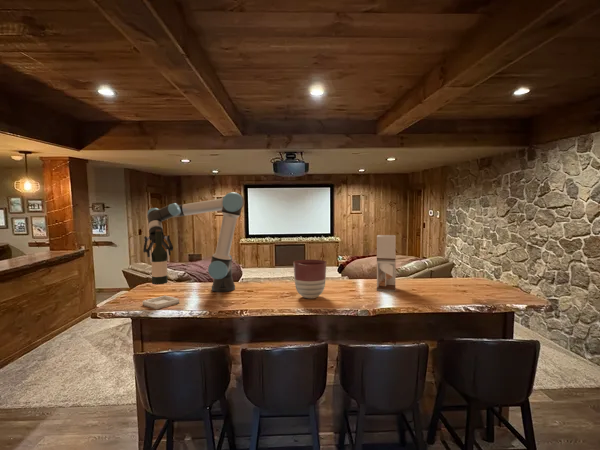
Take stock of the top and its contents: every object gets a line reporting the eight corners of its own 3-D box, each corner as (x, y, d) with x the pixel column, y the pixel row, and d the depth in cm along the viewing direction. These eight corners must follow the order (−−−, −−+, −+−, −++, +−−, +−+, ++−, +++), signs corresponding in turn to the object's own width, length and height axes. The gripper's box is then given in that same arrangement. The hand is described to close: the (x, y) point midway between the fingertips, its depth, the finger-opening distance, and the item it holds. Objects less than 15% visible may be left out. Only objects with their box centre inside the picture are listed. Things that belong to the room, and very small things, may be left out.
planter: (324, 302, 188) (324, 265, 187) (290, 301, 192) (290, 264, 191) (328, 293, 207) (328, 259, 206) (297, 292, 211) (297, 259, 210)
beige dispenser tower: (376, 290, 214) (376, 236, 212) (377, 286, 224) (377, 235, 222) (395, 291, 211) (395, 236, 209) (395, 287, 221) (395, 235, 219)
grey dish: (165, 299, 199) (165, 295, 198) (179, 303, 190) (179, 298, 190) (142, 305, 187) (142, 300, 187) (156, 309, 179) (156, 304, 179)
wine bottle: (153, 285, 182) (152, 230, 181) (150, 282, 189) (148, 229, 187) (169, 283, 187) (168, 229, 186) (165, 280, 194) (164, 229, 192)
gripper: (174, 233, 205) (179, 262, 192) (136, 234, 195) (138, 266, 182) (175, 225, 200) (180, 254, 187) (136, 226, 190) (138, 257, 177)
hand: (159, 260), depth 185 cm, fingers closed on wine bottle, 8 cm apart
